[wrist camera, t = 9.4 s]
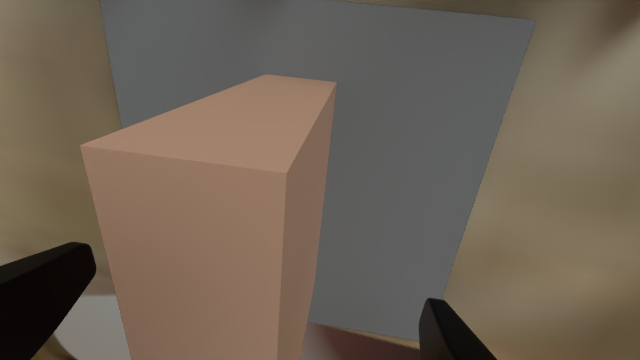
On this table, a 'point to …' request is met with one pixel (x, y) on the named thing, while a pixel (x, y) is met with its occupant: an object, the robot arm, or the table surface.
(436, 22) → the charcoal mat
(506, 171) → the table surface
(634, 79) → the table surface
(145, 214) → the terracotta board
